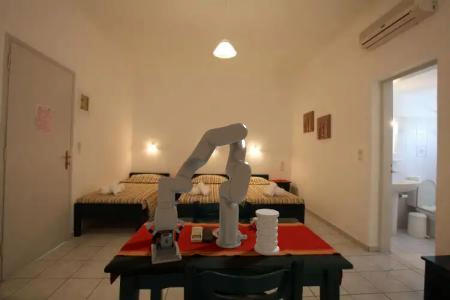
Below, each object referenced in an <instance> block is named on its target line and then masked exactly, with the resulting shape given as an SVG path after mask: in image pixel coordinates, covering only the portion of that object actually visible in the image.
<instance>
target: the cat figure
mask: <svg viewBox="0 0 450 300" xmlns="http://www.w3.org/2000/svg"><path fill="white" fill-rule="evenodd" d="M257 217H258V216H256V217H253V218H252V221H250V224H251V226H252V228H253V229H256V225H257V221H256V219H257Z"/></svg>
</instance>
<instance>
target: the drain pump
mask: <svg viewBox="0 0 450 300" xmlns="http://www.w3.org/2000/svg"><path fill="white" fill-rule="evenodd" d="M165 248H172V234H171V233H169V232H164V234H161V246H160V249H165Z"/></svg>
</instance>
